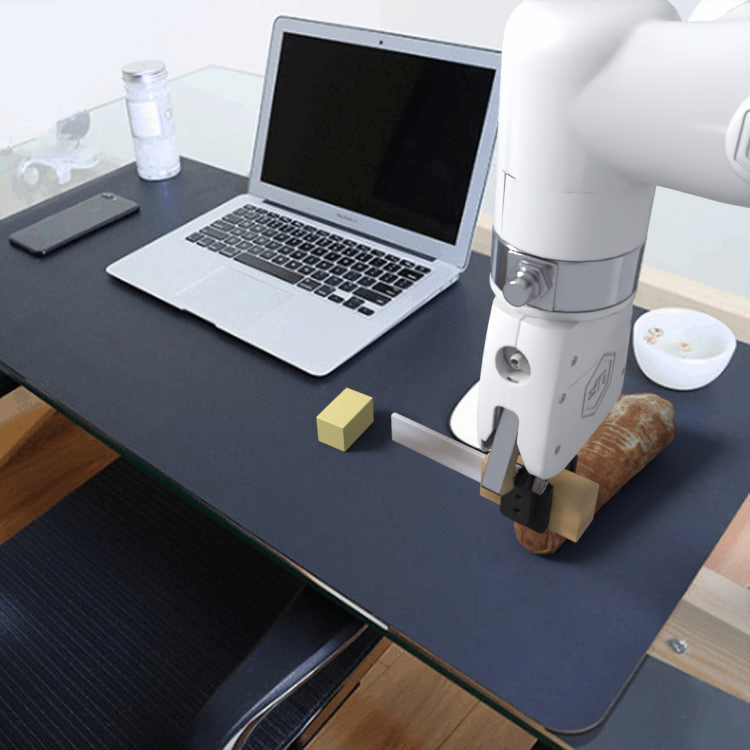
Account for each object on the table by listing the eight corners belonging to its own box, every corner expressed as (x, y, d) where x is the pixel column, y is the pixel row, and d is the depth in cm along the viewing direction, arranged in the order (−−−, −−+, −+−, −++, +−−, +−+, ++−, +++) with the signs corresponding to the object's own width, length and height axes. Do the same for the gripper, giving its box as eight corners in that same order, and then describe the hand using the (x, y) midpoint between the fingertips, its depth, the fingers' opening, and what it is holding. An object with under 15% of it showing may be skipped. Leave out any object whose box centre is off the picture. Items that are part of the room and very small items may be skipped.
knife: (383, 447, 57) (381, 413, 55) (403, 429, 58) (402, 395, 56) (576, 543, 49) (582, 507, 47) (593, 519, 51) (599, 484, 49)
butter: (347, 411, 78) (346, 387, 76) (373, 421, 76) (373, 397, 74) (318, 441, 74) (316, 416, 72) (344, 452, 73) (343, 428, 71)
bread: (674, 452, 72) (688, 405, 69) (550, 575, 62) (559, 527, 58) (613, 420, 76) (623, 374, 72) (486, 531, 65) (491, 484, 62)
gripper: (557, 361, 34) (525, 621, 45) (695, 215, 44) (641, 459, 55) (413, 307, 37) (417, 559, 49) (570, 184, 47) (543, 418, 59)
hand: (535, 504), depth 52 cm, fingers closed on knife, 2 cm apart
